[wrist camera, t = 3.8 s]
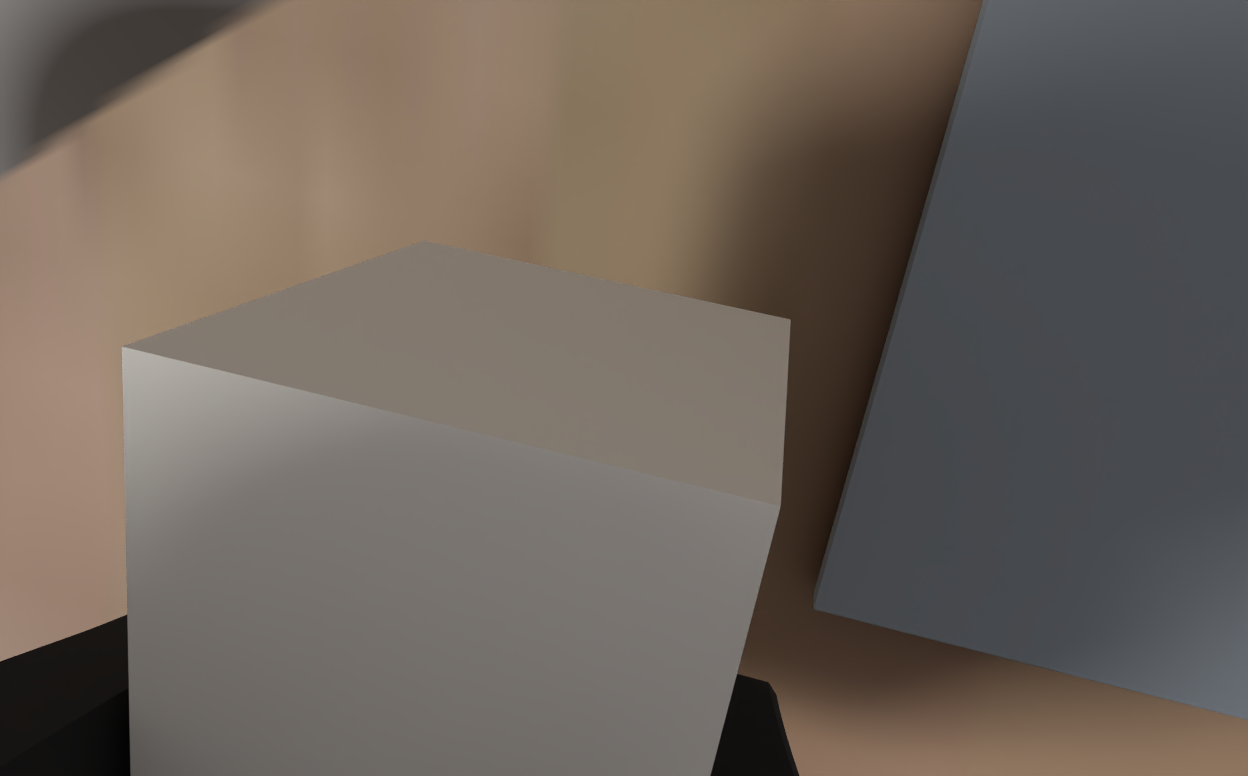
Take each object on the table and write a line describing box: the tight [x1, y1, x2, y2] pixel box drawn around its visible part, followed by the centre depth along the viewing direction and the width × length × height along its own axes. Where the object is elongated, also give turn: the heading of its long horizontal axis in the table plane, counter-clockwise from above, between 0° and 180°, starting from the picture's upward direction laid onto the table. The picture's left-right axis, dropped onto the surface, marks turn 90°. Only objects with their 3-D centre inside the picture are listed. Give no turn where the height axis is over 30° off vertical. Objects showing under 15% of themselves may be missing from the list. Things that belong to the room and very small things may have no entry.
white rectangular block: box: [122, 241, 791, 776], centre depth 9 cm, size 4×8×4 cm, turn 170°
